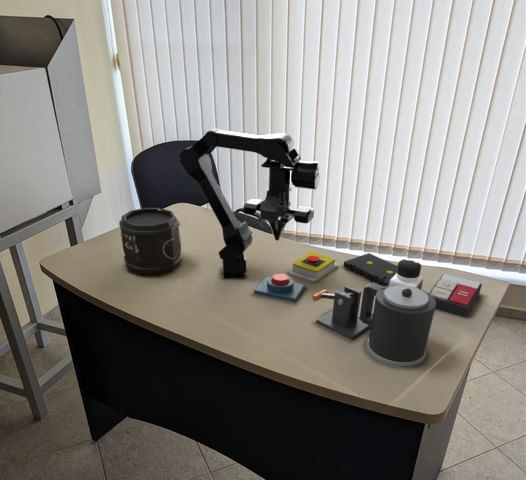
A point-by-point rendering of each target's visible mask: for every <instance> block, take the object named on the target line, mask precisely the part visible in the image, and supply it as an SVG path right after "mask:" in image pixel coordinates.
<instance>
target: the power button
mask: <svg viewBox="0 0 526 480" xmlns="http://www.w3.org/2000/svg"><path fill="white" fill-rule="evenodd" d="M272 276H273V280H272V282H273V284H275V285H286V284H288V277H289V275H287V274H286V273H281V272H278V273H275V274H273V275H272Z"/></svg>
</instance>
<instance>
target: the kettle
mask: <svg viewBox="0 0 526 480" xmlns="http://www.w3.org/2000/svg"><path fill="white" fill-rule="evenodd" d="M376 283H377V282H376ZM376 283H374V282H372V283H371V282H370V283H368V284H366V285H365V286H363V289H362V290H363V291H362V292H363V293H362V296H361V303H360V310H359V311H360V312H359V317H360V318H359V320H361V321H362V322H363V323H365V324H367V325H369V326H371V327H370V328H369V330H370V331H369V337H368V338H367V341H366V349H367V351H368V353H369V354H370V355H371V356H372V357H373V358H375V359H376V360H377V361H380V362H382V363H385V364H386V365H391V366H395V367H396V366H397V367H411V366H415V365H418V364H420V363H422V362H423V361H424V359H426V355H427V345H428V341H429V337H430V332H431V328H432V324H433V319H434V315H435V311H436V308H435V307H436V300H435V299H434V297H433V296H432V295H431V294H429V293H430V292H428V291H426V290H424V289H422V288H421V289H419V288H416V287H412V286H406V285H390V286H386V287H384V286H382V285H379V284H376Z"/></svg>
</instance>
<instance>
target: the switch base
mask: <svg viewBox="0 0 526 480" xmlns="http://www.w3.org/2000/svg"><path fill="white" fill-rule="evenodd" d="M344 292H352V293H354V297H355V302H354V303H352V304H351V300H352V297H350V296H348V295H346V294H343V293H344ZM334 294H335V296H334V299H333V307H332V310H331V311H329V312H327V313H325V314H323V315H322V316H320V317H318V318H317V319H315V320H316V321H315V323H316V324H317V325H320V326H322V327H323V328H326V329H328V330H330V331H332V332H334V333H336V334H338V335H340V336H342V337H344V338H346V339H349V340H350V341H353V340H354V339H356V338H357V337H358V336H360V335H361V334H363V333H365V332H366V331H368V330H370V329H371V326H369V325H367V324H365V323H363V322H362V321H361V320H359V318H360V316H359V313H360V312H359V311H360V306H361V299H362V291H361V290H359V289H357V288H355V287H352V286H349V285H345V286H344V289H343V292H341V291H338V290H336V291H335V292H334Z"/></svg>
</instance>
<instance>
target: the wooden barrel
mask: <svg viewBox="0 0 526 480" xmlns="http://www.w3.org/2000/svg"><path fill="white" fill-rule="evenodd" d="M118 226H119V228H120V229H119V230H120V237H121V244H122V250H123V254H124V256H123V259H124V264H125V266H126V268H127V269H128V270H129V271H130V272H131V273H134V274H136V275H139V276H142V277H143V276H144V277H146V276H148V277H149V276H150V277H151V276H152V277H153V276H154V277H155V276H157V277H158V276H161V275H165V274H169V273H173V272H174V271H175V270H176V269H177V268H178V267H179V266H180V263H181V262H182V261H183V256H182V241H181V233H180V232H181V231H180V227H179V226H181V222H180V221H179V218H178V217H177V216H176V214H175V213H174V212H173V211H171V210H169V209H165V208H160V207H142V208H137V209H133V210H130V211H128V212H126V213H125V214H122V215H121V219H120V220H119V222H118Z"/></svg>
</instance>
